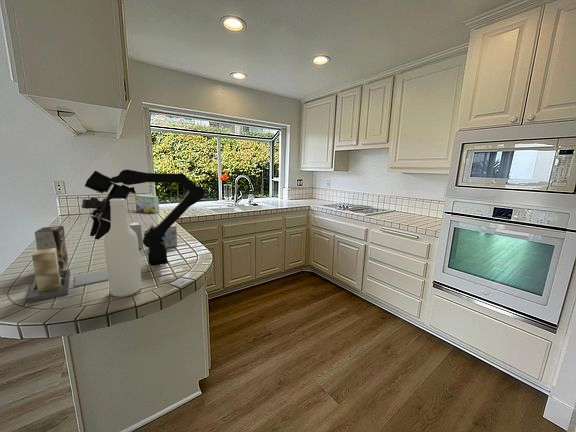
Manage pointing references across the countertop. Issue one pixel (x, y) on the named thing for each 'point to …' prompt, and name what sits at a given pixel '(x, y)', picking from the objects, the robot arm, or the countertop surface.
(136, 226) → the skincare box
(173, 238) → the light bulb box
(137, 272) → the alcohol
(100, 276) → the mat
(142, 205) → the snack box
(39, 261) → the tan wooden block
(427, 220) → the countertop surface
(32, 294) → the frame
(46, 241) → the coffee box
